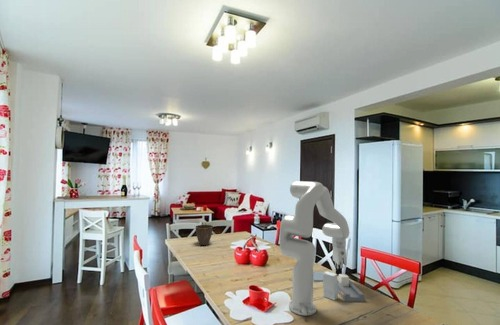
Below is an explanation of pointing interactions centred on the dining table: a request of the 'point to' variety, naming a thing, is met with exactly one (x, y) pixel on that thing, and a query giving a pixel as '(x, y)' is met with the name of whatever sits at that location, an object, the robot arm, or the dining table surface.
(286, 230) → the robot arm
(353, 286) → the switch panel
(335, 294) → the skincare box
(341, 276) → the switch tab
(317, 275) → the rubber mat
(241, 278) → the dining table surface
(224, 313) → the dining table surface
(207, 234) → the plant pot
